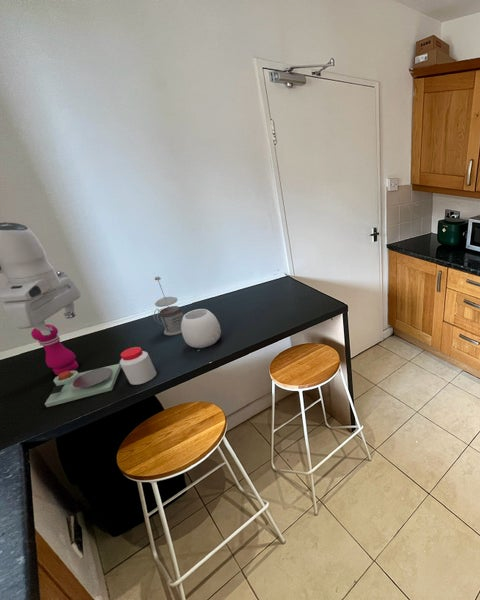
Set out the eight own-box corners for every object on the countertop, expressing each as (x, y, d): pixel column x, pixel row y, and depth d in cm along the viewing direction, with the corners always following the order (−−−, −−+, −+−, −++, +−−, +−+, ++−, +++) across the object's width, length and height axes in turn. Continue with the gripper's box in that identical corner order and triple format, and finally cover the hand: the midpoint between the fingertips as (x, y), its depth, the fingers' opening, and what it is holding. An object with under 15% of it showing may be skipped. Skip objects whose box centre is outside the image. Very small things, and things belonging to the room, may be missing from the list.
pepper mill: (67, 376, 110) (37, 328, 101) (47, 376, 110) (15, 327, 101) (86, 363, 116) (59, 316, 107) (67, 363, 116) (39, 316, 107)
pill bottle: (136, 387, 105) (122, 361, 100) (124, 380, 108) (111, 354, 103) (161, 374, 111) (149, 349, 106) (149, 367, 114) (138, 342, 109)
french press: (195, 324, 141) (177, 273, 129) (173, 338, 131) (151, 284, 119) (177, 322, 143) (157, 271, 131) (153, 335, 133) (131, 282, 121)
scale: (44, 407, 97) (39, 400, 95) (61, 380, 108) (57, 373, 106) (112, 390, 104) (108, 383, 102) (121, 366, 115) (118, 359, 113)
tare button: (58, 381, 104) (56, 377, 103) (62, 376, 106) (59, 372, 105) (70, 378, 105) (68, 374, 104) (73, 373, 107) (71, 369, 107)
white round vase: (229, 341, 129) (220, 313, 123) (194, 356, 120) (183, 326, 114) (215, 330, 137) (207, 303, 131) (182, 343, 128) (171, 314, 122)
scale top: (48, 397, 97) (47, 396, 96) (60, 378, 104) (60, 377, 104) (108, 382, 103) (108, 381, 103) (116, 365, 111) (115, 364, 110)
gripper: (50, 269, 94) (71, 310, 101) (-12, 299, 77) (19, 345, 83) (75, 268, 96) (94, 308, 102) (20, 297, 78) (47, 343, 84)
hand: (60, 325), depth 92 cm, fingers open, 8 cm apart
